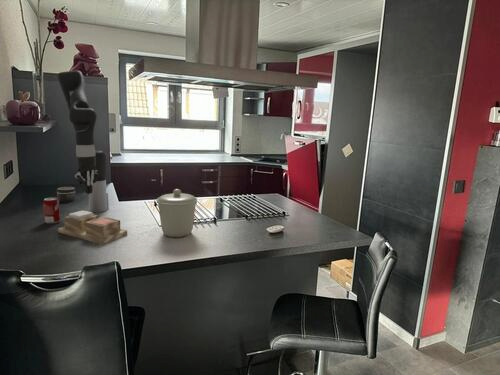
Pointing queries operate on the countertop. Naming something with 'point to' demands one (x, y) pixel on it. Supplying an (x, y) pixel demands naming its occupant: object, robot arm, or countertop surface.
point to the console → (92, 229)
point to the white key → (81, 215)
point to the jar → (66, 194)
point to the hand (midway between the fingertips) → (89, 193)
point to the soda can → (51, 210)
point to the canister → (177, 213)
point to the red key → (102, 221)
